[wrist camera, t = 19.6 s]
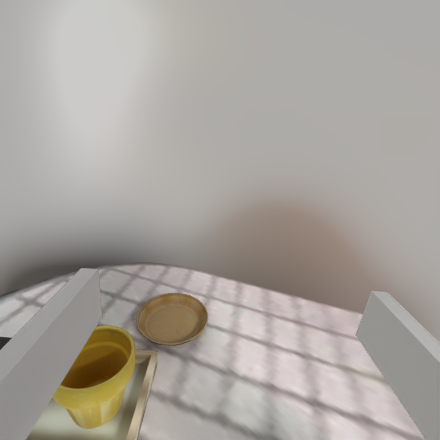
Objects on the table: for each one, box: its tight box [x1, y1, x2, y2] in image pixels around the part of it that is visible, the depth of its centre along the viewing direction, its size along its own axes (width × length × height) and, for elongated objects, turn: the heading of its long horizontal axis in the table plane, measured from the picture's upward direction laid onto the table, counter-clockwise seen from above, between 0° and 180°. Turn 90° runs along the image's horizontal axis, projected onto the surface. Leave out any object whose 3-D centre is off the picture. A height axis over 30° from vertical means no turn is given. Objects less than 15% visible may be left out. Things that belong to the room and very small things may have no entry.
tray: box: [26, 350, 157, 440], centre depth 36 cm, size 15×15×3 cm
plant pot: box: [53, 326, 135, 429], centre depth 34 cm, size 10×10×10 cm
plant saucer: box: [136, 293, 208, 346], centre depth 52 cm, size 15×15×3 cm
